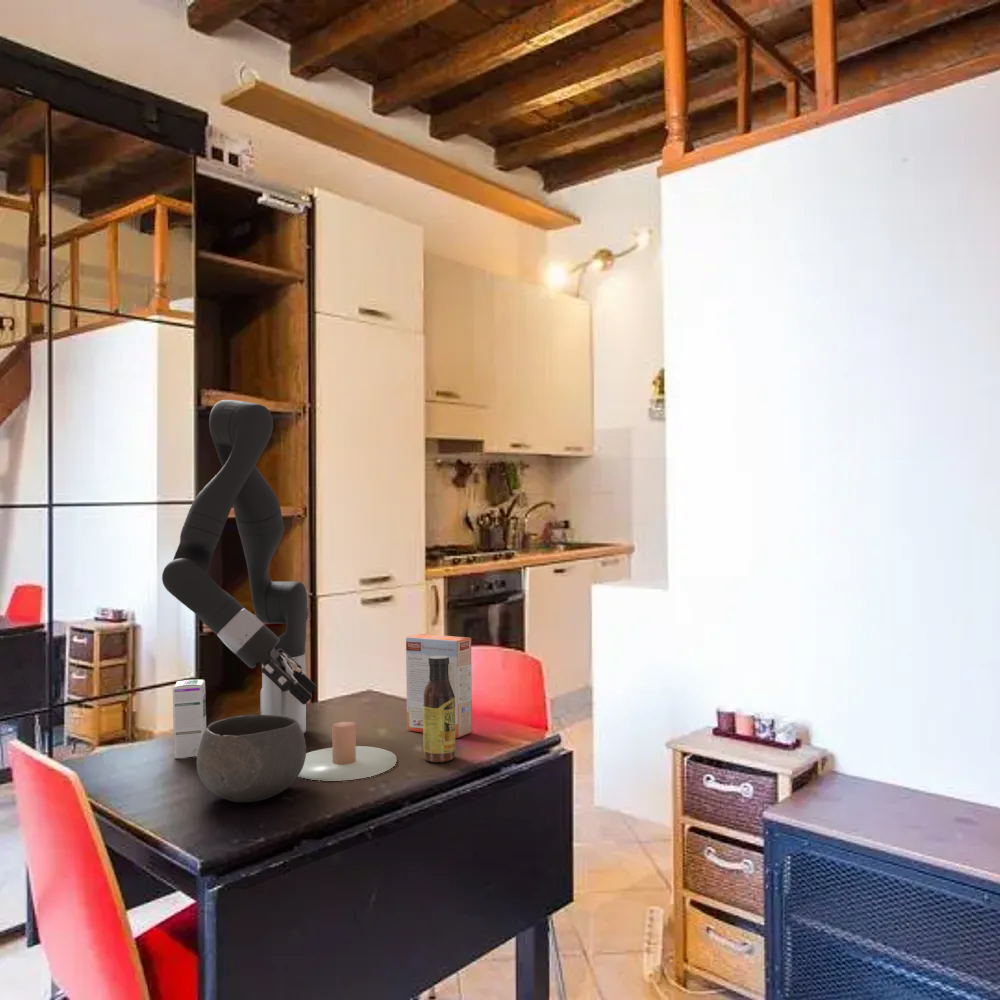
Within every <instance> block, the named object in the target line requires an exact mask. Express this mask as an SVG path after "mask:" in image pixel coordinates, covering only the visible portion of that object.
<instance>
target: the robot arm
mask: <svg viewBox="0 0 1000 1000" xmlns="http://www.w3.org/2000/svg"><path fill="white" fill-rule="evenodd" d="M208 419H209V420H208V421H209V423H208V425H209V432H210V437H211V439H212V442H213V445H214V448H215V450H216V453H217V457H218V459H219V461H220V464H221V469H220V470H219V471H218V472H217V474H215V475H214V477H212V478H211V480H210V481H209V482H208V483H206V485H205V486H204V487H203V488H202V489H201V490H200V491H199V492H198V494H197V495H196V496H195V498H194V500H193V502H192V503H191V505H190V508H189V509H188V512H187V515H186V518H185V521H184V522H183V526H182V528H181V532H180V536H179V544H178V546H177V549H176V551H175V554H174V557H173V559H172V561H170V562H168V563H167V564H166V565H165V567H164V569H163V571H162V577H161V580H162V585H163V586H164V588H165V590H166V591H167V592H169V594H171V595H172V596H173V597H174V598H175V599H176V600H177V601H179V602H180V603H182V604H183V605H184V606H185V607H187V608H188V609H189V610H190V611H192V613H194V614H195V615H196V616H197V617H198V618H199V620H201V622H202V623H203V624H204V625H205V626H207V628H208V629H209V630H211V632H213V633H214V634H215V635H216V636H217V637H218V638H219V640H220V641H221V642H222V643H223V644H224V645H225V647H227V648H228V649H229V650H230V651H231V652H232V653H233V654H235V655H236V656H237V657H238V658H239V659H240V660H241V661H242V662H243V663H244V664H246V665H247V667H248V668H250V669H254V668H256V666H258V665H259V663H261V670H260V671H261V683H262V686H261V687H262V688H261V689H260V694H259V696H260V698H259V699H260V700H259V701H260V702H259V703H260V715H275V716H283V717H288V718H292V719H294V720H296V721H297V722H298V724H299V725H300V727H301V729H302V732H303V734H306V732H307V717H306V716H307V704H308V702H309V701H311V699H312V697H313V695H312V692H313V691H315V689H316V687H317V684H316V683H314V682H313V680H311V679H310V678H309V677H308V676H307V675H306V640H307V616H308V594H307V589H306V586H305V584H304V583H302V582H301V581H288V580H287V581H273V580H272V579H271V576H270V564H271V561H272V559H273V556H274V554H275V552H276V550H277V549H278V546H279V545H280V542H281V540H282V537H283V536H284V532H285V526H284V525H285V524H284V520H283V514H282V509H281V506H280V505H281V504H280V500H279V499H278V497H277V495H276V493H275V491H274V489H272V487H271V485H270V484H269V483H268V481H267V480H266V478H265V477H264V476H263V474H262V473H261V471H260V470H259V468H258V467H257V465H256V464H257V463H258V461H259V459H260V458H261V455H262V454H263V452H264V451H265V448H266V447H267V446H268V443H269V441H270V439H271V437H272V433H273V429H274V419H273V416H272V414H271V410H269V409H268V407H266V406H265V405H262V404H259V403H255V402H249V401H248V402H247V401H242V400H234V399H222V400H220V401H218V402H216V403H215V404H214V405H213V407H212V408H211V411H210V414H209V418H208ZM232 508H233V511H234V512H233V513H234V517H235V521H236V527H237V530H238V531H237V532H238V535H239V537H240V542H241V545H242V548H243V549H242V550H243V554H244V557H245V562H246V567H247V574H248V580H249V589H250V594H251V601H252V602H251V603H252V607H253V608H252V609H253V611H254V614H253V613H252V612H251V611H249V610H248V609H247V608H245V607H244V605H242V604H241V603H240V602H239V601H238V600H237V599H236V598H234V597H233V595H231V594H230V593H229V592H227V591H225V590H224V589H223V588H222V587H220V586H219V584H217V582H216V581H215V580H214V579H213V578H212V577H211V576H210V575H209V574H208V572H209V569H210V565H211V562H212V559H213V555H214V552H215V550H216V547H217V545H218V543H219V542H220V541H219V540H220V538H221V536H222V533H223V530H224V529H225V526H226V523H227V521H228V517H229V516H230V513H231V510H232ZM266 624H267V625H268V624H273V625H275V624H277V625H278V624H283V625H284V624H285V626H286V627H285V631H284V632H283V633H282V634H281V635H279V636H277V635H276V634H275V632H274V631H272V630H271V629H270V628H269V627H268V626H267V625H266Z"/></svg>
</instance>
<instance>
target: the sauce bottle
mask: <svg viewBox="0 0 1000 1000" xmlns="http://www.w3.org/2000/svg"><path fill="white" fill-rule="evenodd" d="M448 665H449V657H448V656H431V657H429V667H430V668H429V670H430V676H429V679H430V681H429V682H428V685H427V686H426V687H425V690H424V705H423V733H422V734H423V735H422V736H423V737H422V738H423V740H422V741H423V744H422V745H423V746H422V747H423V758H424V759H425V761H426V762H429V761H430V763H439V762H440V763H445V762H450V761H452V760H453V759H454V758H455V752H456V738H455V696H454V693H453V690H452V687H451V684H450V681H449V676H448Z"/></svg>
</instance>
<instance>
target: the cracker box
mask: <svg viewBox="0 0 1000 1000" xmlns="http://www.w3.org/2000/svg"><path fill="white" fill-rule="evenodd" d="M431 656H448V657H449V665H448V676H449V681H450V684H451V687H452V690H453V693H454V696H455V739H460V738H463V737H464V736H466V735H469V734H472V733H473V691H472V690H473V684H472V683H473V681H472V679H473V677H472V672H473V671H472V637H468V636H467V637H466V636H465V637H464V636H452V635H443V634H441V635H440V634H431V633H430V634H428V633H417V634H412V635H408V636H406V638H405V660H406V661H405V662H406V663H405V664H406V665H405V668H406V671H405V673H406V683H405V684H406V730H407V731H409V732H417V733H421V734H423V705H424V690H425V687H426V686H427V685H428V682H429V681H430V679H429V676H430V670H429V668H430V667H429V657H431Z"/></svg>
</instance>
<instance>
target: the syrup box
mask: <svg viewBox="0 0 1000 1000" xmlns="http://www.w3.org/2000/svg"><path fill="white" fill-rule="evenodd" d="M171 689H172V716H173V717H172V718H173V719H172V720H173V722H172V723H173V725H172V726H173V755H174V759H181V758H180V757H191V756H197V754H198V749H199V745H200V742H201V739H202V736H203V734H204V732H205V730H206V728H207V707H206V705H207V704H206V681H205V679H185V680H177V681H176V683H175V684H174V685H173V686H172V688H171Z"/></svg>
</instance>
